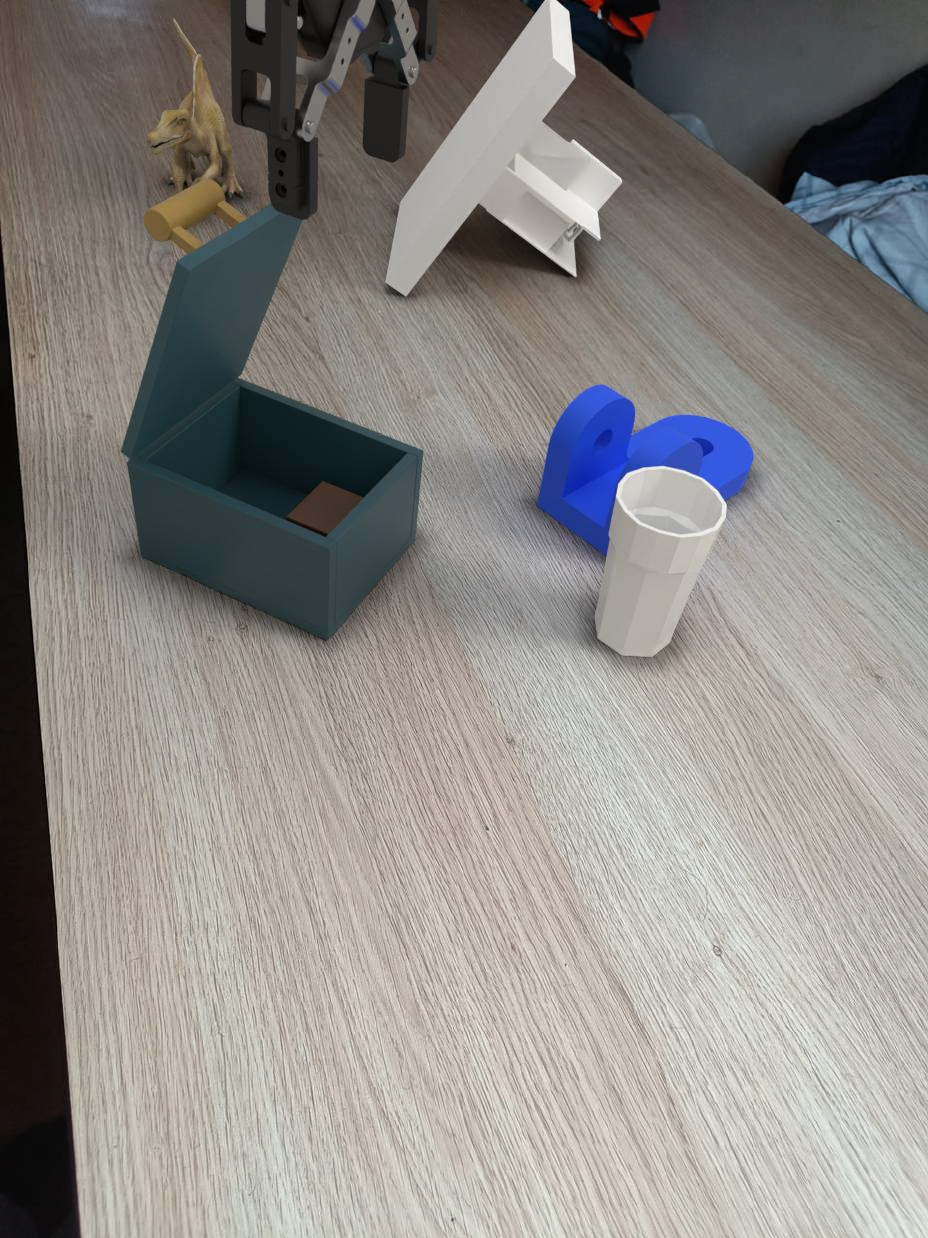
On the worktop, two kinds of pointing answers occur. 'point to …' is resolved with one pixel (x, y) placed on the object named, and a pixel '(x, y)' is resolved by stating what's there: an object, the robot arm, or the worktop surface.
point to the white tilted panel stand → (508, 162)
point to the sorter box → (275, 504)
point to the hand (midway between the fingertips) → (340, 183)
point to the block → (324, 508)
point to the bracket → (628, 458)
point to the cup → (655, 556)
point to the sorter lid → (206, 305)
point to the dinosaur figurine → (195, 132)
